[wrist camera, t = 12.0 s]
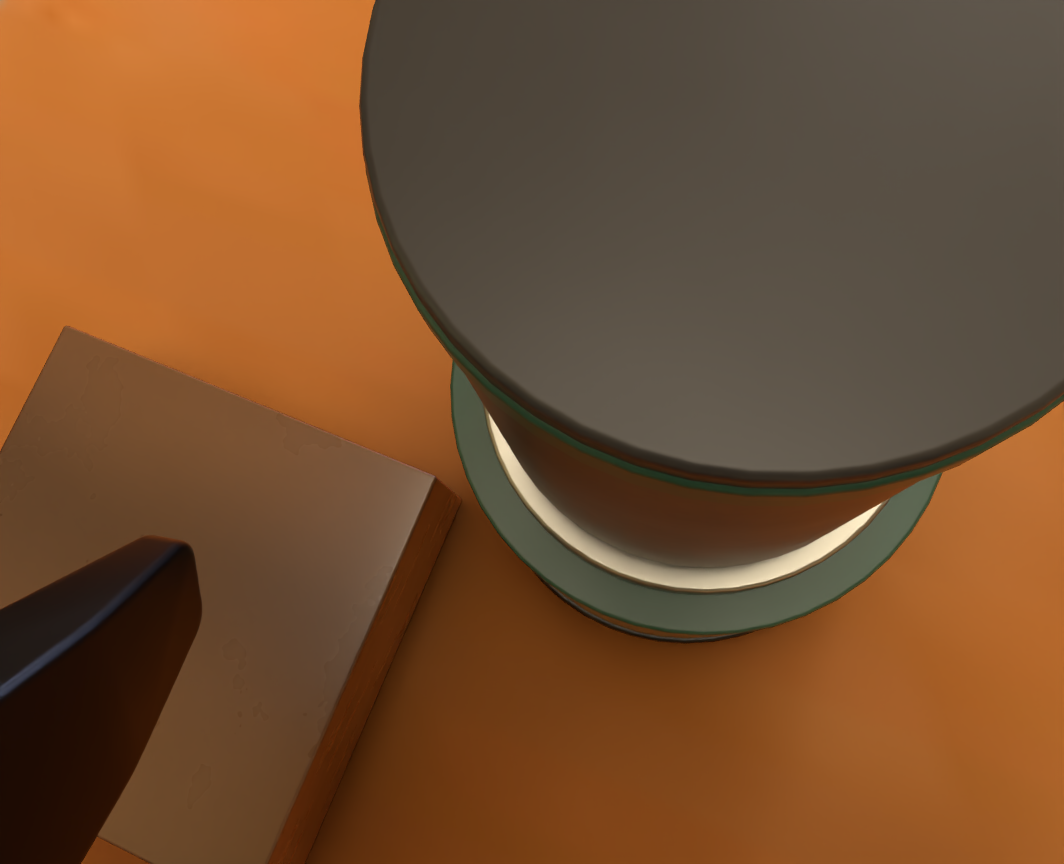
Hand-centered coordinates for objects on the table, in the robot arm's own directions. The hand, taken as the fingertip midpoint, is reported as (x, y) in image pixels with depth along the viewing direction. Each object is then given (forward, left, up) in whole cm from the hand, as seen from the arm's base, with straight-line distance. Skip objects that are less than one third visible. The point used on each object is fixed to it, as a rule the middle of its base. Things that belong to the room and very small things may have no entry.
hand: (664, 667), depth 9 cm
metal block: (-3, +9, -12) cm, 16 cm away
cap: (+4, +1, -5) cm, 7 cm away
